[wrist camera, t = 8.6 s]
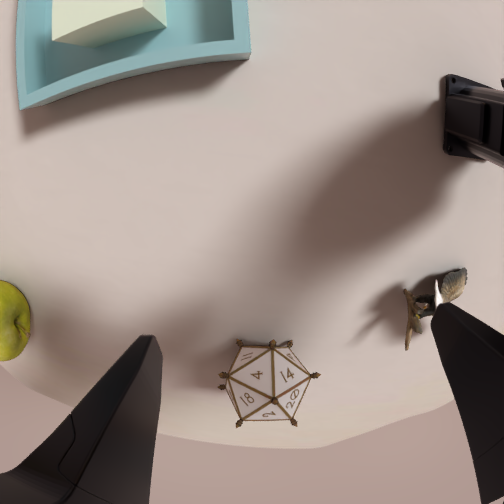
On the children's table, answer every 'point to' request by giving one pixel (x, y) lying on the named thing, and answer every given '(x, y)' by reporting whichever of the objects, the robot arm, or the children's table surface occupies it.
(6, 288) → the apple
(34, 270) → the children's table surface
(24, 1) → the tray
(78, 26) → the sage block
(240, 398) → the game die
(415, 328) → the eagle figurine
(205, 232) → the children's table surface
